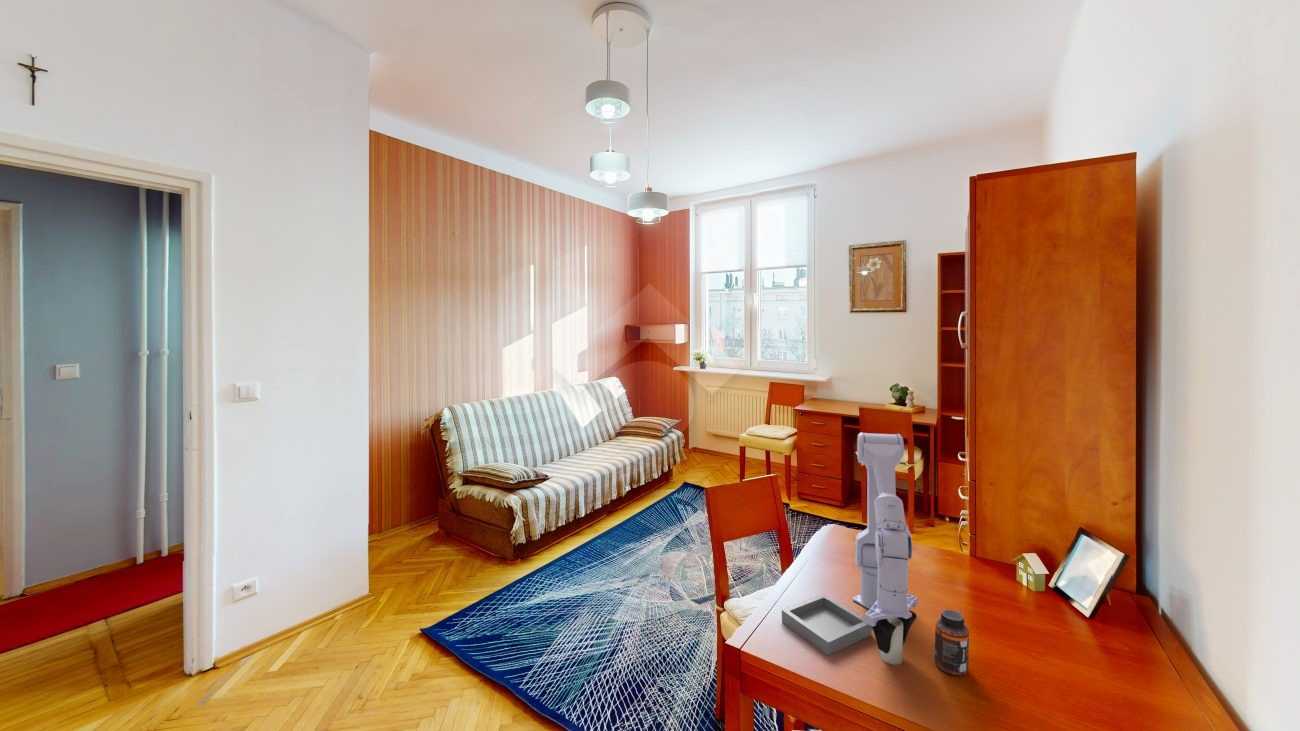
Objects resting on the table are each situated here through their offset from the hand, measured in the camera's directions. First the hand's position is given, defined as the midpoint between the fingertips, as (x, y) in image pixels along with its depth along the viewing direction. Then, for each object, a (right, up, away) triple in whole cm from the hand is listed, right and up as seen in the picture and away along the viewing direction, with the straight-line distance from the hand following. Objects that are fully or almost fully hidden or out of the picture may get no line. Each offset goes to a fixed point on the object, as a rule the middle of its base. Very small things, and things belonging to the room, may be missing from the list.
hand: (891, 646), depth 105 cm
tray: (-10, -2, +11) cm, 15 cm away
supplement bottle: (+11, -3, -3) cm, 12 cm away
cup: (0, -2, 0) cm, 2 cm away
